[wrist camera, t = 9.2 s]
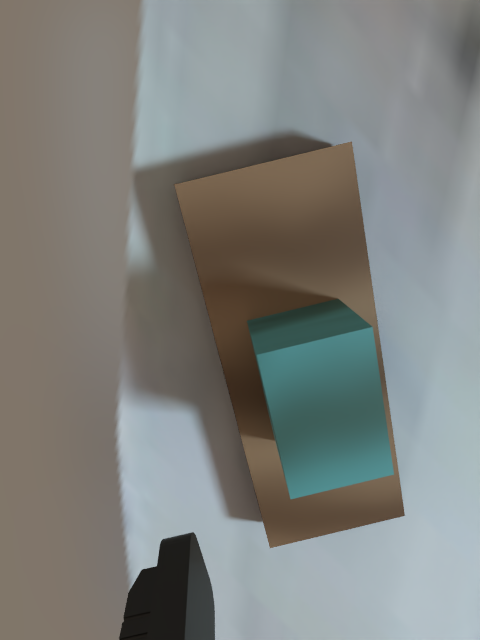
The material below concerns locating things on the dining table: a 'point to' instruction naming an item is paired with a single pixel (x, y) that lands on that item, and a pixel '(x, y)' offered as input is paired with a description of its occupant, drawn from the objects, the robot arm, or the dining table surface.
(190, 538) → the robot arm
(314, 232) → the wooden base with cube
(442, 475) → the dining table surface
